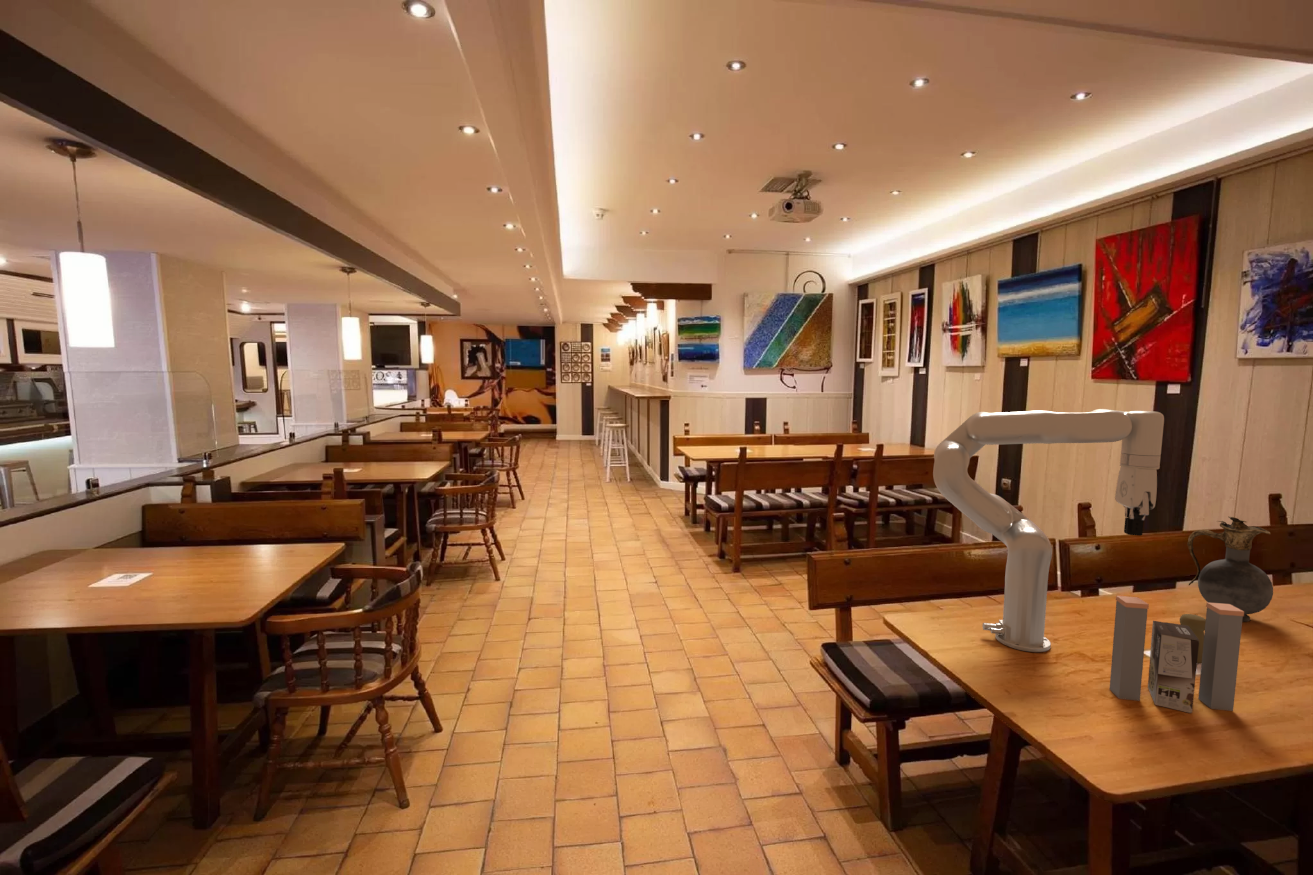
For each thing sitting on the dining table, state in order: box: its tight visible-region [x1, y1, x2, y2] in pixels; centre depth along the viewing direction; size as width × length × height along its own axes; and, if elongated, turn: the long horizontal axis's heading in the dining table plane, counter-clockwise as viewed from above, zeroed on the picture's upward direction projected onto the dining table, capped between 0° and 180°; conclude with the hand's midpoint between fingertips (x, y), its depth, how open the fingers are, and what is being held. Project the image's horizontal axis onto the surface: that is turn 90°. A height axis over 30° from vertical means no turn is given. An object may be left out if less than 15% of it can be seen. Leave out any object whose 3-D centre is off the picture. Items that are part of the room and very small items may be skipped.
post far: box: [1197, 601, 1244, 712], centre depth 125 cm, size 4×4×22 cm
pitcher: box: [1186, 516, 1274, 623], centre depth 172 cm, size 11×19×30 cm, turn 32°
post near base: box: [1109, 595, 1150, 702], centre depth 129 cm, size 4×4×22 cm
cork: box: [1179, 613, 1206, 664], centre depth 147 cm, size 6×6×11 cm
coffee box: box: [1147, 620, 1200, 714], centre depth 127 cm, size 9×6×16 cm
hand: (1132, 534), depth 145 cm, fingers closed
